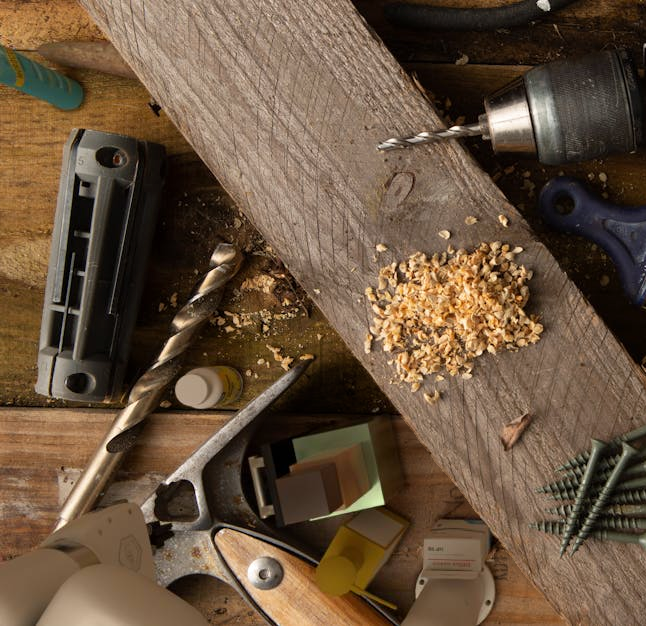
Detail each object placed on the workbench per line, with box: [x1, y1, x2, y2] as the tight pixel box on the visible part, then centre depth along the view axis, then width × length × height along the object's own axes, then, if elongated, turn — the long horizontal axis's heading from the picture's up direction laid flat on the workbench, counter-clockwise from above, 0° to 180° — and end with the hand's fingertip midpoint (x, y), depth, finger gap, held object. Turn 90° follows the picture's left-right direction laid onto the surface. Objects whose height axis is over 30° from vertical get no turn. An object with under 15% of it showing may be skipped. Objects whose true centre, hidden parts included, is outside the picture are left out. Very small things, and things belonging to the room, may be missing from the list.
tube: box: [0, 43, 84, 111], centre depth 117 cm, size 7×5×19 cm, turn 32°
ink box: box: [420, 518, 491, 579], centre depth 120 cm, size 9×5×15 cm, turn 89°
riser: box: [290, 443, 371, 512], centre depth 108 cm, size 7×6×12 cm
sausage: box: [37, 40, 140, 81], centre depth 124 cm, size 6×18×6 cm
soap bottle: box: [315, 505, 411, 611], centre depth 115 cm, size 7×13×24 cm, turn 60°
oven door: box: [247, 427, 320, 528], centre depth 121 cm, size 5×12×13 cm, turn 12°
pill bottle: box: [174, 365, 244, 410], centre depth 121 cm, size 6×6×11 cm
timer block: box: [275, 462, 343, 525], centre depth 99 cm, size 6×6×6 cm
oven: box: [292, 412, 406, 522], centre depth 120 cm, size 11×12×13 cm
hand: (161, 531), depth 93 cm, fingers closed
